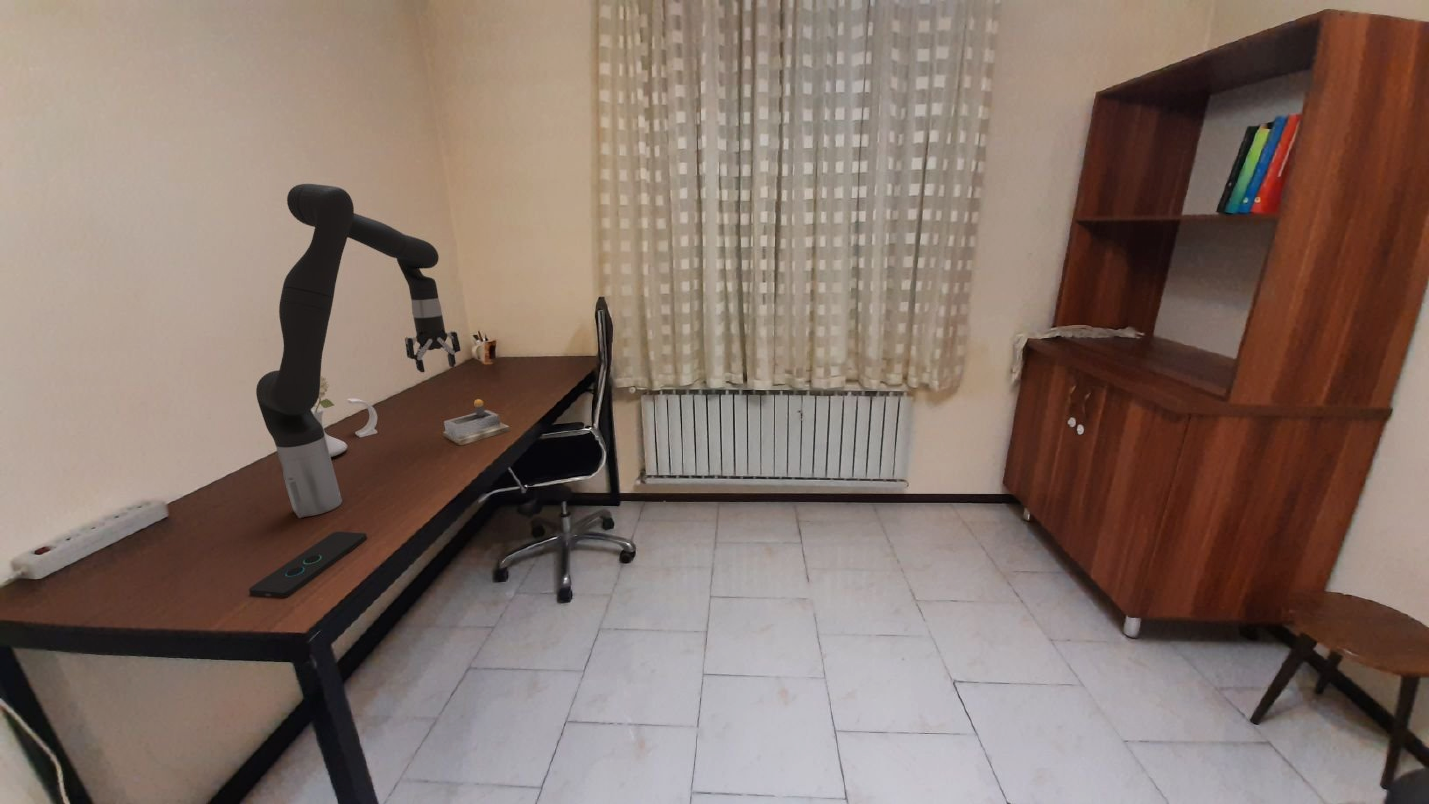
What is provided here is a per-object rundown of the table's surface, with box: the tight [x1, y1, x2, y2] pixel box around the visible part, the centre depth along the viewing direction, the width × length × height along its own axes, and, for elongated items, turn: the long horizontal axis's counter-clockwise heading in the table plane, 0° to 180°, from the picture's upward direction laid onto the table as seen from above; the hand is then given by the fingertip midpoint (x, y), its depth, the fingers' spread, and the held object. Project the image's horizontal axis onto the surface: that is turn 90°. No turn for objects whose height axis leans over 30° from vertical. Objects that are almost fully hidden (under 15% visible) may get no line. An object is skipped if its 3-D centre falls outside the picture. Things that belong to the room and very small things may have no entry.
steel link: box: [443, 409, 501, 439], centre depth 175 cm, size 14×8×4 cm, turn 137°
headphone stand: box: [346, 398, 378, 438], centre depth 178 cm, size 5×6×12 cm
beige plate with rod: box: [442, 398, 511, 446], centre depth 175 cm, size 16×12×11 cm
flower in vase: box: [311, 375, 348, 458], centre depth 158 cm, size 13×11×25 cm
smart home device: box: [248, 531, 368, 599], centre depth 109 cm, size 8×2×20 cm
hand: (437, 369), depth 164 cm, fingers open, 8 cm apart
